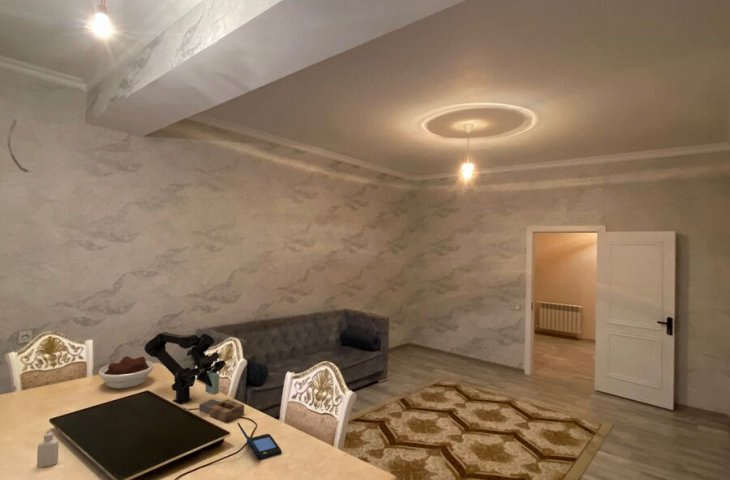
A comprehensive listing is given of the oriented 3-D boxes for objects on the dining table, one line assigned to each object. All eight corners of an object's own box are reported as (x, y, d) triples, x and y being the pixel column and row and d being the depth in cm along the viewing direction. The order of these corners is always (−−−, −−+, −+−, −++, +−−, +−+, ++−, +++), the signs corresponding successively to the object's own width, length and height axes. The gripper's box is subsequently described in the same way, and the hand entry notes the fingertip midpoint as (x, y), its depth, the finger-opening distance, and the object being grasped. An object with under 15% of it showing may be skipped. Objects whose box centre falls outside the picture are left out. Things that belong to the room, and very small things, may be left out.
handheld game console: (282, 454, 145) (283, 430, 145) (246, 464, 138) (247, 439, 138) (269, 436, 158) (269, 413, 158) (235, 444, 151) (236, 421, 151)
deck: (199, 410, 178) (199, 404, 178) (211, 405, 184) (212, 399, 184) (210, 415, 174) (210, 408, 174) (223, 409, 180) (223, 403, 180)
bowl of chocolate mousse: (90, 386, 203) (91, 357, 203) (139, 373, 223) (140, 347, 223) (110, 398, 188) (111, 367, 188) (161, 383, 209) (162, 356, 209)
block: (205, 392, 180) (206, 372, 180) (209, 390, 182) (210, 371, 182) (214, 394, 177) (214, 375, 177) (218, 393, 179) (219, 373, 179)
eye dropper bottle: (47, 459, 136) (48, 425, 136) (60, 462, 135) (61, 428, 135) (34, 466, 132) (35, 431, 132) (47, 469, 131) (48, 434, 131)
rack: (209, 416, 172) (209, 406, 172) (227, 408, 181) (227, 399, 181) (226, 423, 167) (226, 413, 167) (243, 414, 176) (244, 404, 176)
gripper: (190, 352, 173) (205, 381, 168) (223, 343, 189) (238, 370, 184) (178, 366, 177) (193, 395, 172) (212, 356, 193) (227, 383, 188)
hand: (214, 385), depth 179 cm, fingers closed on block, 2 cm apart
